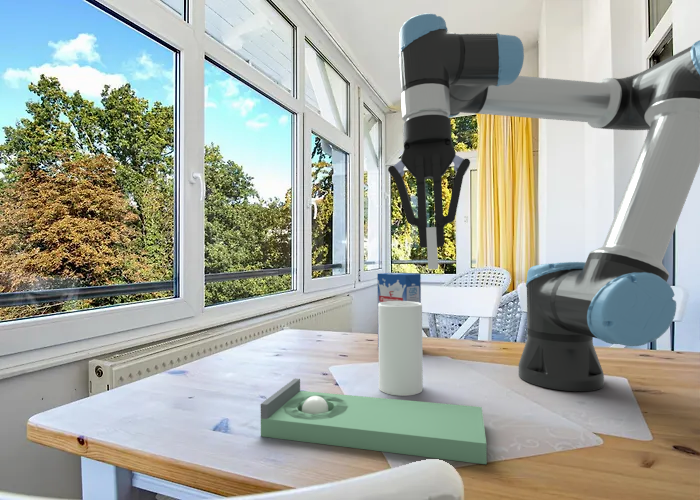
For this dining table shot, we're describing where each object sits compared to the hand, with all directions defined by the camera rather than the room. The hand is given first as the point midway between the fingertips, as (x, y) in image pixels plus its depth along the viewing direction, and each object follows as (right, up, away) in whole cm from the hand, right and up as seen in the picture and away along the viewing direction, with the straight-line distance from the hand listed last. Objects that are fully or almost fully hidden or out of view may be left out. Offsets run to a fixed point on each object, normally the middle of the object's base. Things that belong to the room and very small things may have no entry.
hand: (433, 268), depth 65 cm
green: (-10, -23, -6) cm, 26 cm away
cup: (-4, -23, +12) cm, 27 cm away
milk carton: (0, -24, +44) cm, 50 cm away
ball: (-18, -21, -3) cm, 28 cm away
